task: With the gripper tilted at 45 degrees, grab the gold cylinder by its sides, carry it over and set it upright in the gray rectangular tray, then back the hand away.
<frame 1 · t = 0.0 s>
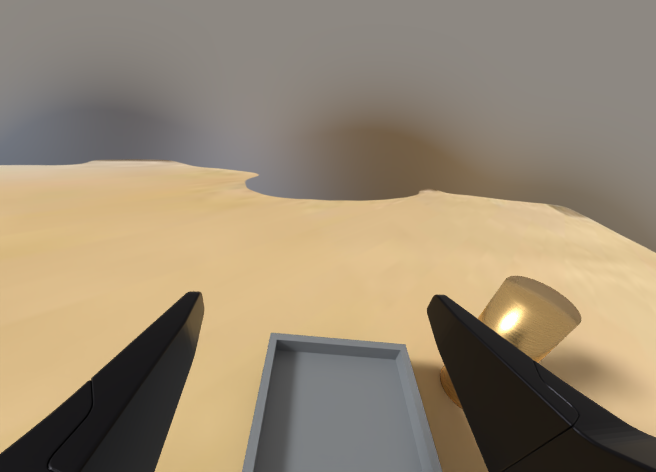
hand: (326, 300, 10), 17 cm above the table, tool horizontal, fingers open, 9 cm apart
gray rectangular tray: (333, 458, 19), on the table
gold cylinder: (465, 386, 25), on the table
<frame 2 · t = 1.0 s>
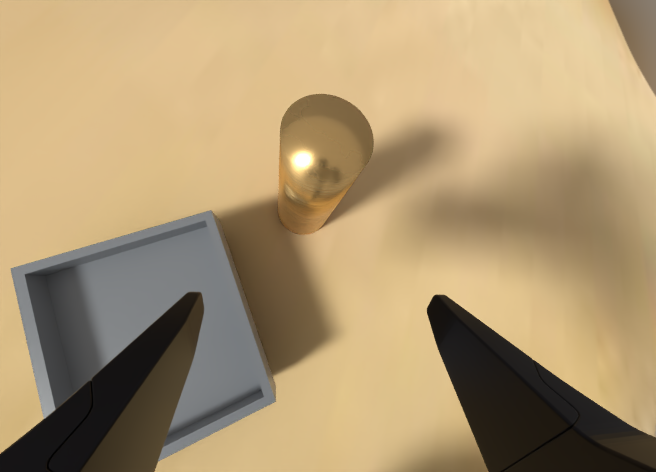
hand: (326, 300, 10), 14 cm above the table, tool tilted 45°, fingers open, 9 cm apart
gray rectangular tray: (175, 328, 21), on the table
gold cylinder: (303, 210, 25), on the table
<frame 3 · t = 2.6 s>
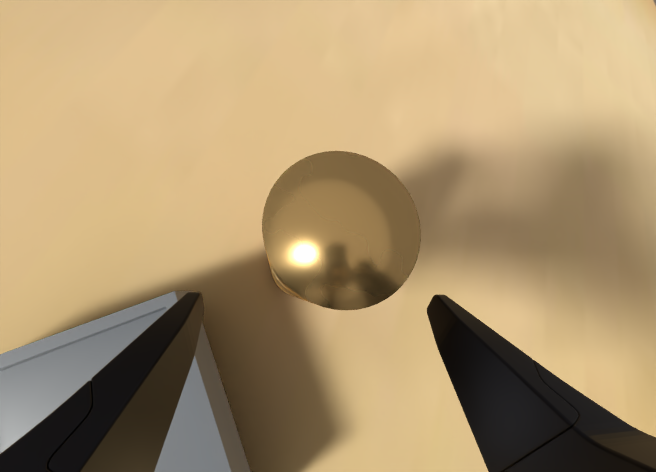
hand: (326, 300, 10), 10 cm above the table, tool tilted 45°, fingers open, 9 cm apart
gray rectangular tray: (131, 439, 15), on the table
gold cylinder: (302, 265, 20), on the table
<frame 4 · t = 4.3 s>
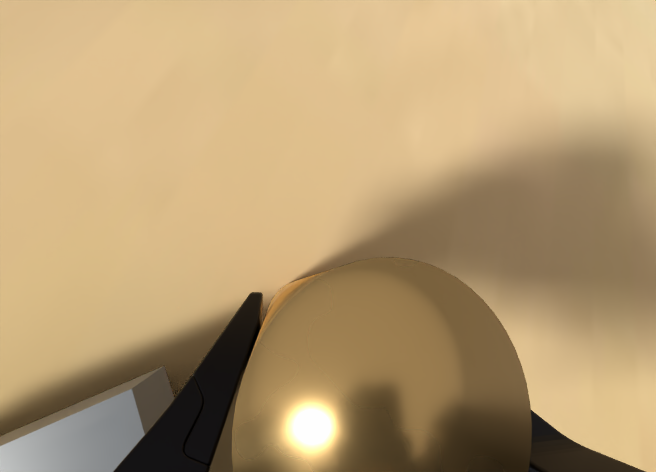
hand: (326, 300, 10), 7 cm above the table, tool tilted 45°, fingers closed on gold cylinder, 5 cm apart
gold cylinder: (305, 318, 16), on the table, touching gripper
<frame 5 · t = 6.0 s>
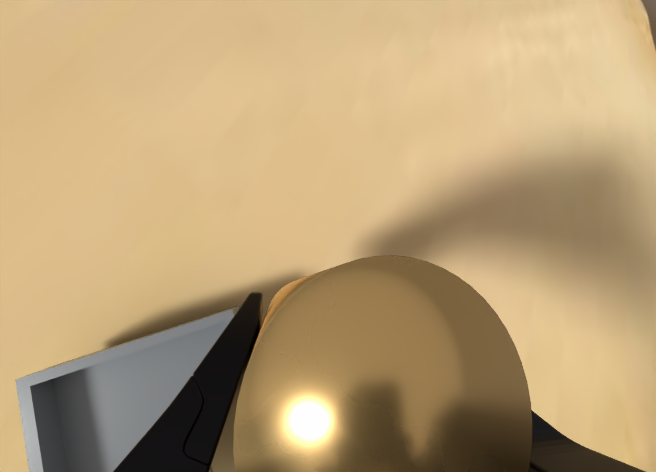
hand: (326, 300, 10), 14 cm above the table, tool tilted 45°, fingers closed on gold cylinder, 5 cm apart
gray rectangular tray: (184, 420, 19), on the table
gold cylinder: (306, 317, 16), point 7 cm above the table, touching gripper
when the fingers open (11 cm above the table, at t = 7.9 s): gold cylinder drops 1 cm, resting on gray rectangular tray.
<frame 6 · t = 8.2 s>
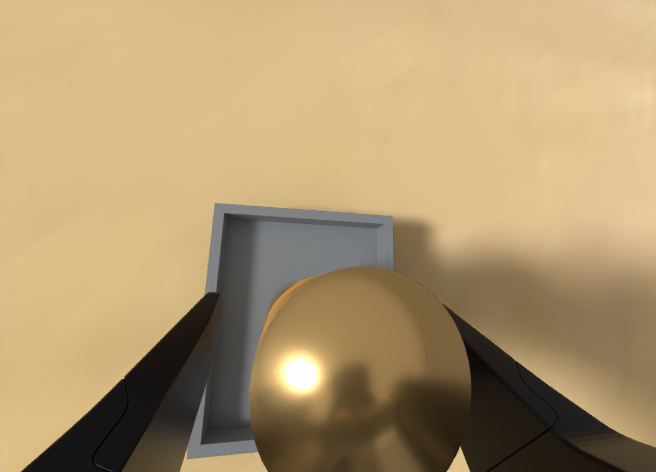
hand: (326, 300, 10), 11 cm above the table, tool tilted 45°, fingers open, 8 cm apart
gray rectangular tray: (299, 311, 20), on the table, touching gold cylinder
gold cylinder: (302, 316, 17), point 3 cm above the table, touching gray rectangular tray
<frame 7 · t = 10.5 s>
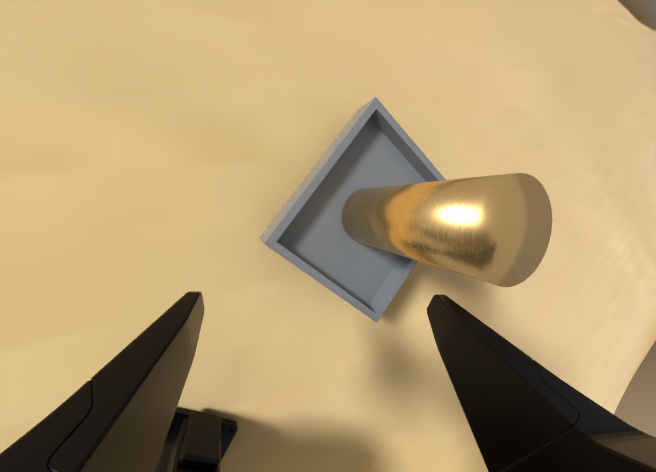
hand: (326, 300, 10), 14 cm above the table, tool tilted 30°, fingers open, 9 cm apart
gray rectangular tray: (351, 214, 25), on the table, touching gold cylinder
gold cylinder: (366, 216, 22), point 3 cm above the table, touching gray rectangular tray
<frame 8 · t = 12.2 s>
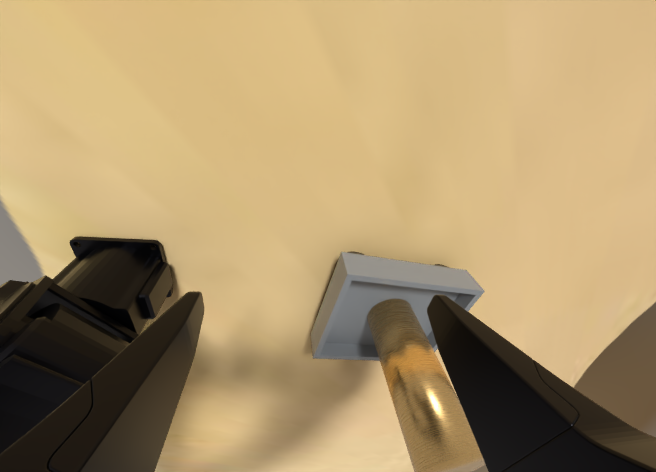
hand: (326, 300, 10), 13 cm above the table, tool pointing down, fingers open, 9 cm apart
gray rectangular tray: (381, 293, 29), on the table, touching gold cylinder
gold cylinder: (389, 314, 27), point 3 cm above the table, touching gray rectangular tray
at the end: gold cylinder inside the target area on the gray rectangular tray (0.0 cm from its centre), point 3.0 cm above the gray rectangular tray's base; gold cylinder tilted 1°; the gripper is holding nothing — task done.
